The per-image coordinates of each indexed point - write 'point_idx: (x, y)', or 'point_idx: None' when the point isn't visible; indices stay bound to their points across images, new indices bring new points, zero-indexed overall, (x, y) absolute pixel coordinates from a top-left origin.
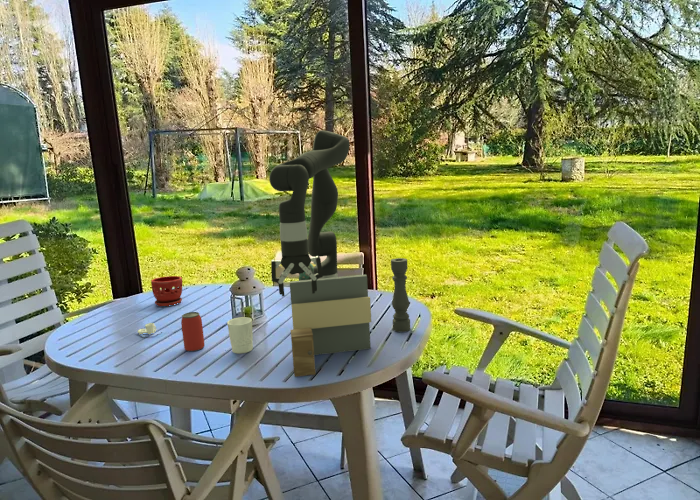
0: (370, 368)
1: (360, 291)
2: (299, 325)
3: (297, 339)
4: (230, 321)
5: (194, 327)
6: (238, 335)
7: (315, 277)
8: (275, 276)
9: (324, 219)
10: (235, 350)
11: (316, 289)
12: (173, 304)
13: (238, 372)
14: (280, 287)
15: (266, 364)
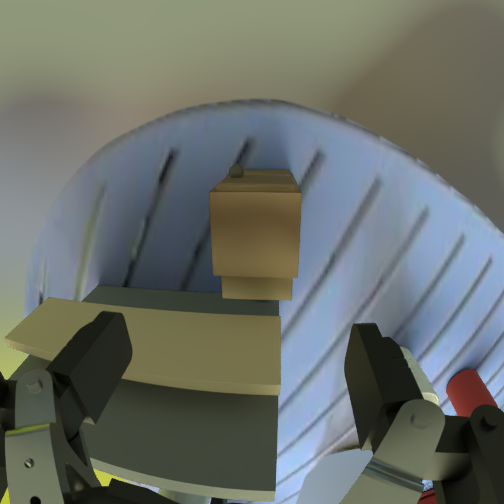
0: (100, 174)
1: None
2: (257, 325)
3: (276, 184)
4: None
5: (480, 402)
6: (415, 373)
7: (21, 386)
8: (487, 458)
9: None
10: (410, 352)
11: (82, 328)
12: (424, 493)
13: (422, 247)
14: (400, 381)
15: (356, 273)
